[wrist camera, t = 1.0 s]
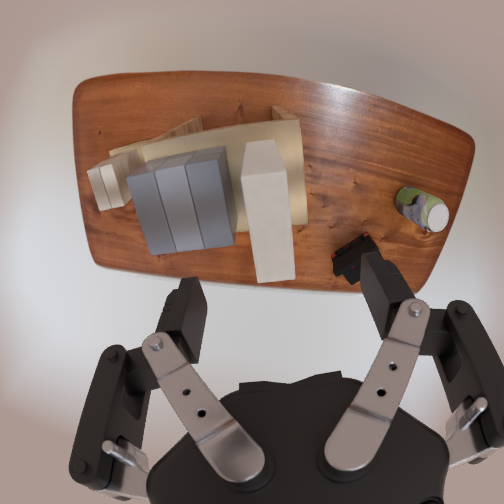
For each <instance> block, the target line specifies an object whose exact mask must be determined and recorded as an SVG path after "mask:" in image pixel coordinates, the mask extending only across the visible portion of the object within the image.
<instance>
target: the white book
mask: <svg viewBox="0 0 504 504" xmlns="http://www.w3.org/2000/svg"><path fill="white" fill-rule="evenodd" d="M241 184H242V190H243V196H244V202H245V208H246V214H247V220H248V226H249V232H250V238H251V245H252V251H253V257H254V263H255V269H256V275H257V281H258V283H264V282H273V281H283V280H292V279H295V264H294V250H293V237H292V225H291V213H290V202H289V191H288V181H287V172H286V169H285V166H284V164H283V161H282V158H281V155H280V152H279V150H278V147H277V144H276V142H275V139H268V140H260V141H252V142H246V148H245V154H244V160H243V166H242V172H241Z"/></svg>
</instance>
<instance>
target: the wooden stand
mask: <svg viewBox="0 0 504 504" xmlns="http://www.w3.org/2000/svg"><path fill="white" fill-rule="evenodd" d="M271 110H272V118H273V120H272V121H263V122H255V123H247V124H240V125H234V126H227V127H221V128H215V129H209V130H203V125H202V120H201V116H199V117H194V118H192V119H190V120H188V121H186V122H184V123H182V124H180V125H178V126H176V127H174V128H172V129H170V130H169V131H167V132H165V133H163V134H161V135H159V136H157V137H156V138H154V139H152V140H150V141H149V142H147V143H145V144H144V145H142V146H141V147H142V151H143V156H144V159H145V163H144V164H143V165H142V166H140V167H139V168H138V169H137V170H135V171H134V172H133V173H132V174H130V175H129V176H128V177H127V178H126V180H127V183H128V187H129V190H130V193H131V197H132V200H133V203H134V206H135V209H136V212H137V216H138V219H139V222H140V225H141V228H142V230H143V233H144V236H145V239H146V242H147V245H148V248H149V250H150V253H151V255H157V254H166V253H174V252H182V251H191V250H199V249H208V248H216V247H225V246H233V245H234V244H235V236H236V232H241V231H249V226H248V220H247V214H246V208H245V202H244V196H243V190H242V184H241V172H242V166H243V160H244V154H245V148H246V142H252V141H260V140H268V139H275V142H276V144H277V147H278V150H279V152H280V155H281V158H282V161H283V164H284V166H285V169H286V172H287V181H288V191H289V202H290V213H291V225H292V226H294V225H303V224H308V215H307V198H306V184H305V170H304V158H303V147H302V137H301V127H300V120H299V119H298V118H297V117H296V116H294V115H293V114H291V113H290V112H288V111H287V110H285V109H284V108H282V107H281V106H279V105H271Z"/></svg>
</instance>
